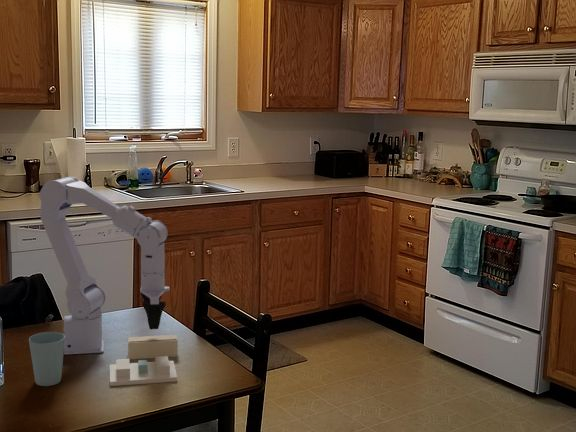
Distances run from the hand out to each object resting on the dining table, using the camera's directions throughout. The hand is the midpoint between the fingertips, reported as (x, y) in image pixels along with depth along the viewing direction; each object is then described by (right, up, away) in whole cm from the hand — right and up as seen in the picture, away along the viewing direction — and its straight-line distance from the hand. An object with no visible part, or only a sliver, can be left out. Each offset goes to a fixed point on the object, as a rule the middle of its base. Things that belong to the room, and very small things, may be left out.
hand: (153, 323), depth 172 cm
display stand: (0, -10, -11) cm, 15 cm away
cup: (-21, -11, -16) cm, 28 cm away
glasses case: (0, -8, +2) cm, 9 cm away
